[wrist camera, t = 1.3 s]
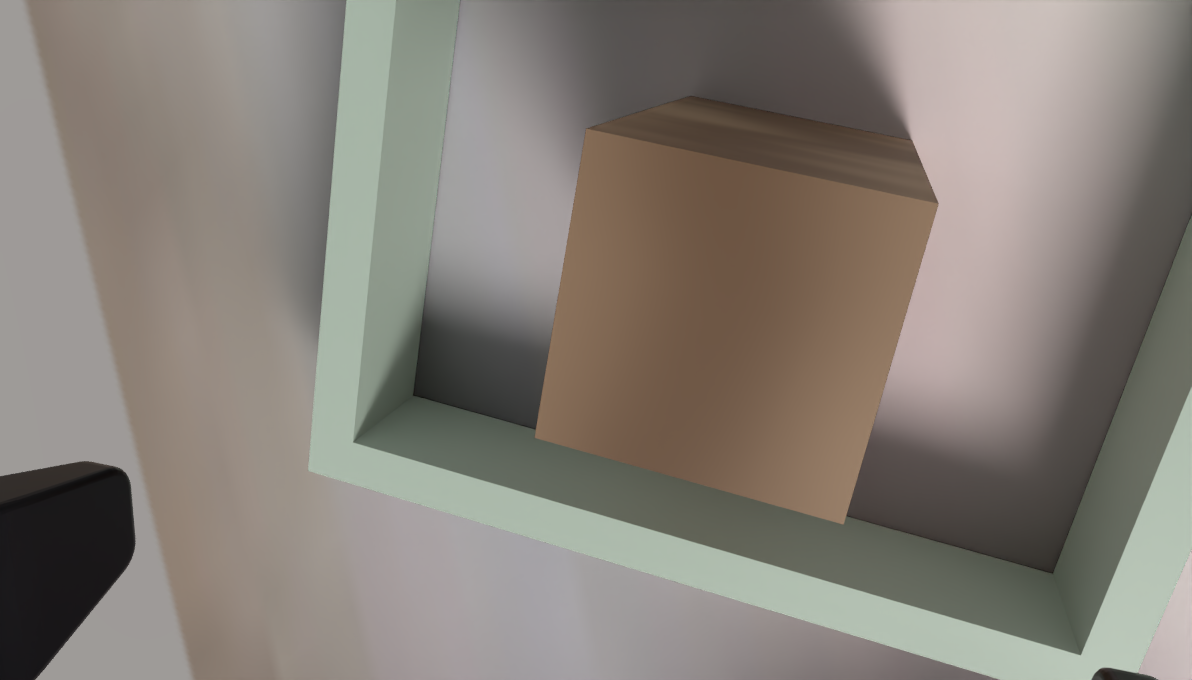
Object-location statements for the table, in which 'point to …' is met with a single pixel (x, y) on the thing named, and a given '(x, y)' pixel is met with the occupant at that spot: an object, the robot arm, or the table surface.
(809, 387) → the walnut block
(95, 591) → the robot arm
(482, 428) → the green square frame
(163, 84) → the table surface
